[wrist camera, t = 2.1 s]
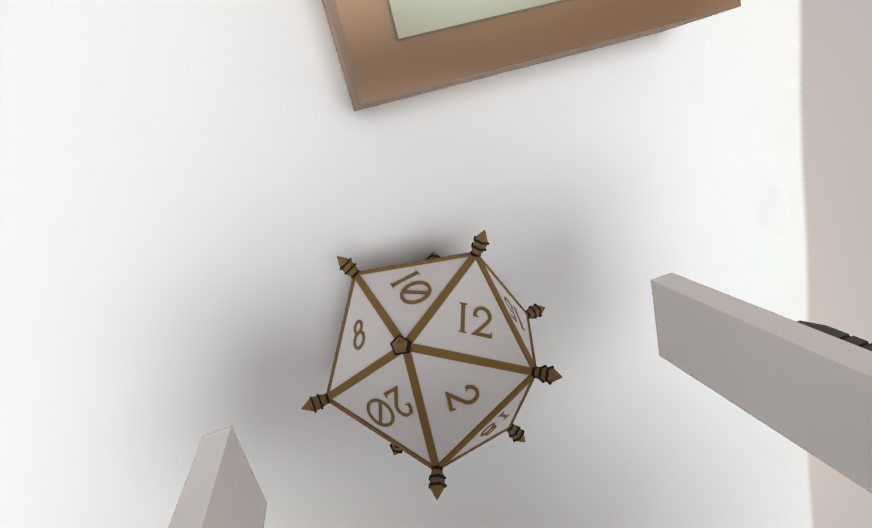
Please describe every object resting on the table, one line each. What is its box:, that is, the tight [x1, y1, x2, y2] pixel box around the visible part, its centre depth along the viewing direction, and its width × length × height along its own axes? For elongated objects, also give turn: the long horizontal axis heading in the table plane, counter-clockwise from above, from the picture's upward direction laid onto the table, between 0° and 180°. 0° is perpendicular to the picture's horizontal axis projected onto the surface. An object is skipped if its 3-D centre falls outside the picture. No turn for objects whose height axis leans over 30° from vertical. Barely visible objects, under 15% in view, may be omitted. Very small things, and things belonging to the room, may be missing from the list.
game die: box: [302, 230, 562, 499], centre depth 18 cm, size 9×8×10 cm
